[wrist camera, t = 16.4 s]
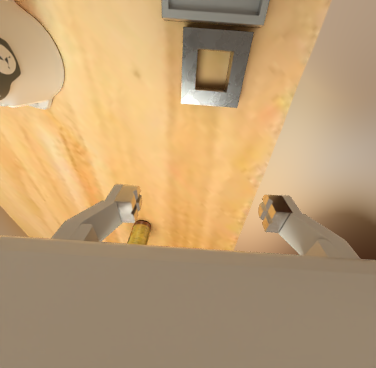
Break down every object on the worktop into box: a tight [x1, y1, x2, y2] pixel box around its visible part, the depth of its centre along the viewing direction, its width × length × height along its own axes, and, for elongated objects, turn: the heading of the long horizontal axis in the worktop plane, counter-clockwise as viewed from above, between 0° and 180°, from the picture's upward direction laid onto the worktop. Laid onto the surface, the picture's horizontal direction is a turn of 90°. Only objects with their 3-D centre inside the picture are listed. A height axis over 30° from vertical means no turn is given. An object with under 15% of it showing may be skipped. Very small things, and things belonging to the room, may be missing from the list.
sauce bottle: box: [127, 221, 151, 245], centre depth 53 cm, size 7×6×20 cm
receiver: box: [181, 27, 254, 108], centre depth 31 cm, size 11×11×4 cm
